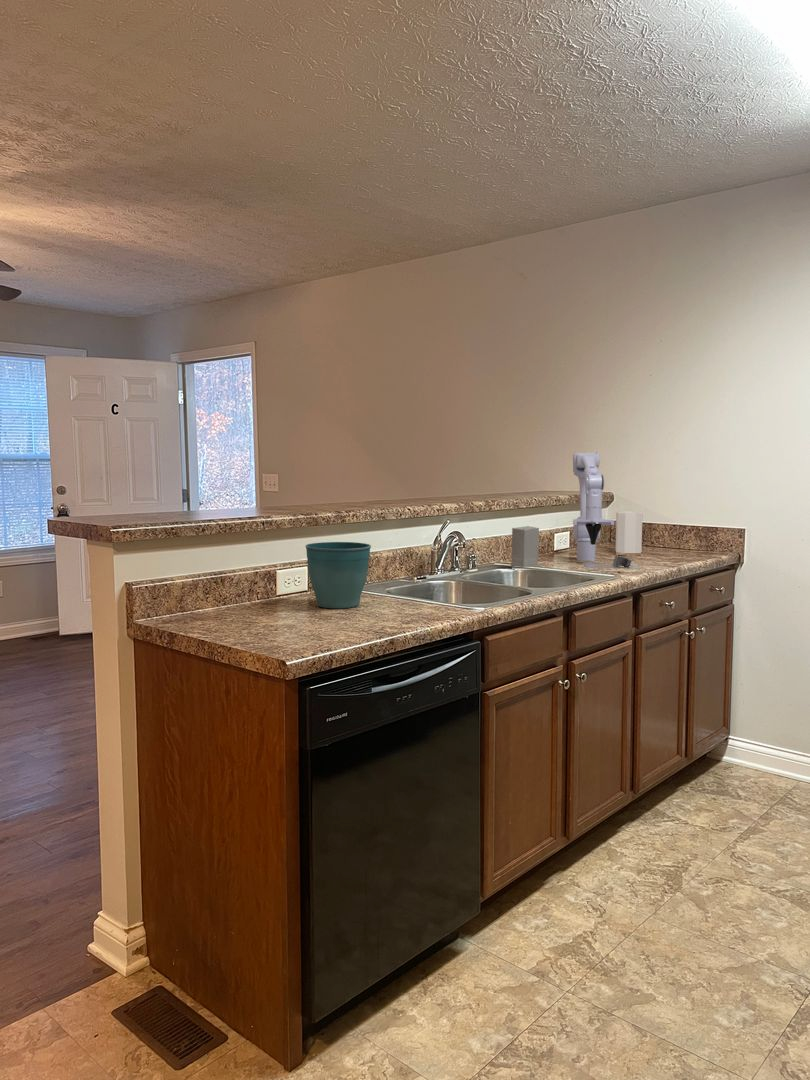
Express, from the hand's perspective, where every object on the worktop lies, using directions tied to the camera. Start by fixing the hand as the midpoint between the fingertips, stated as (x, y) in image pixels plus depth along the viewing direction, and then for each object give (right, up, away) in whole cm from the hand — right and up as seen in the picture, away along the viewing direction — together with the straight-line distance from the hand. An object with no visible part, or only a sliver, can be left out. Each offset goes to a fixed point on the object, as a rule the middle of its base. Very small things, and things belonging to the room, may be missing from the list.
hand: (593, 544), depth 297 cm
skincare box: (-25, -10, +1) cm, 27 cm away
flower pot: (-88, -17, -73) cm, 116 cm away
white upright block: (+26, -5, +48) cm, 55 cm away
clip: (+10, -9, 0) cm, 13 cm away
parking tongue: (-9, -9, +7) cm, 14 cm away
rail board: (+7, -9, 0) cm, 12 cm away
